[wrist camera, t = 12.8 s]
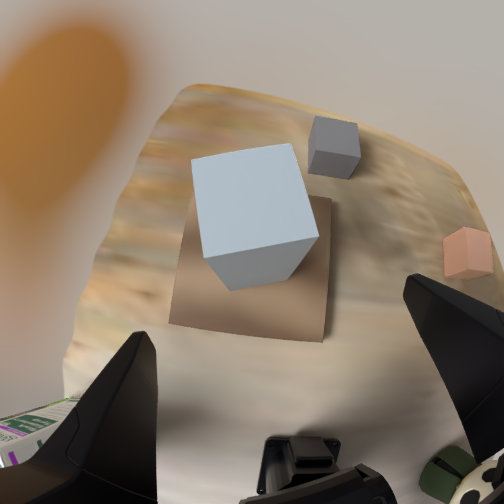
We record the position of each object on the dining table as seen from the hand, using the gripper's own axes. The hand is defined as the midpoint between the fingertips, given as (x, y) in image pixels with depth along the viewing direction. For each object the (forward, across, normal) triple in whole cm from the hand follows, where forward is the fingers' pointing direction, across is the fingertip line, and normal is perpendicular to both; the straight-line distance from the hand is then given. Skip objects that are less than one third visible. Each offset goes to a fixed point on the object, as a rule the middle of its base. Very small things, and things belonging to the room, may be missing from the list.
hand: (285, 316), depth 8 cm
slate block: (+12, 0, +5) cm, 13 cm away
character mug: (-6, -15, +25) cm, 30 cm away
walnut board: (+13, 0, +6) cm, 14 cm away
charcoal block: (+19, -9, 0) cm, 21 cm away
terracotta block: (+10, -21, +9) cm, 25 cm away
